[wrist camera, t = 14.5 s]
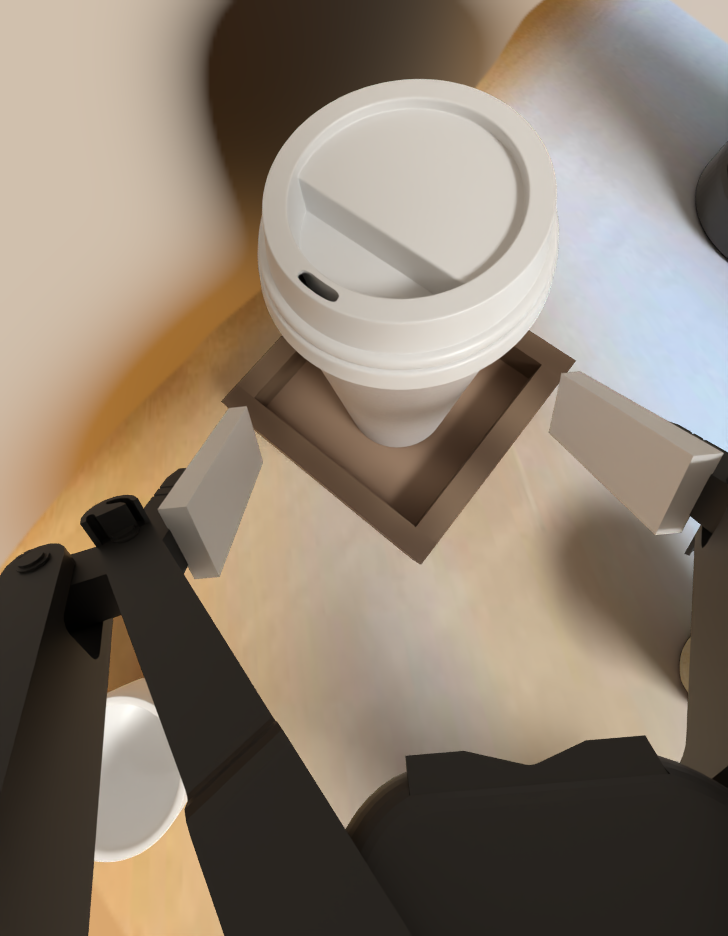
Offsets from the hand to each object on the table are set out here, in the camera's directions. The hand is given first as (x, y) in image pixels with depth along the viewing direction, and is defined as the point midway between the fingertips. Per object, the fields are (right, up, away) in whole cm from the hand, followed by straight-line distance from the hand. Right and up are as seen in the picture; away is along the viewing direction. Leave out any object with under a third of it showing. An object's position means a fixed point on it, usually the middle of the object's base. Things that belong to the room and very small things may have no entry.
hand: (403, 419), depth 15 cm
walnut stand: (+1, +2, +12) cm, 12 cm away
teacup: (-13, -19, +9) cm, 25 cm away
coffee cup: (+1, +2, +9) cm, 10 cm away
